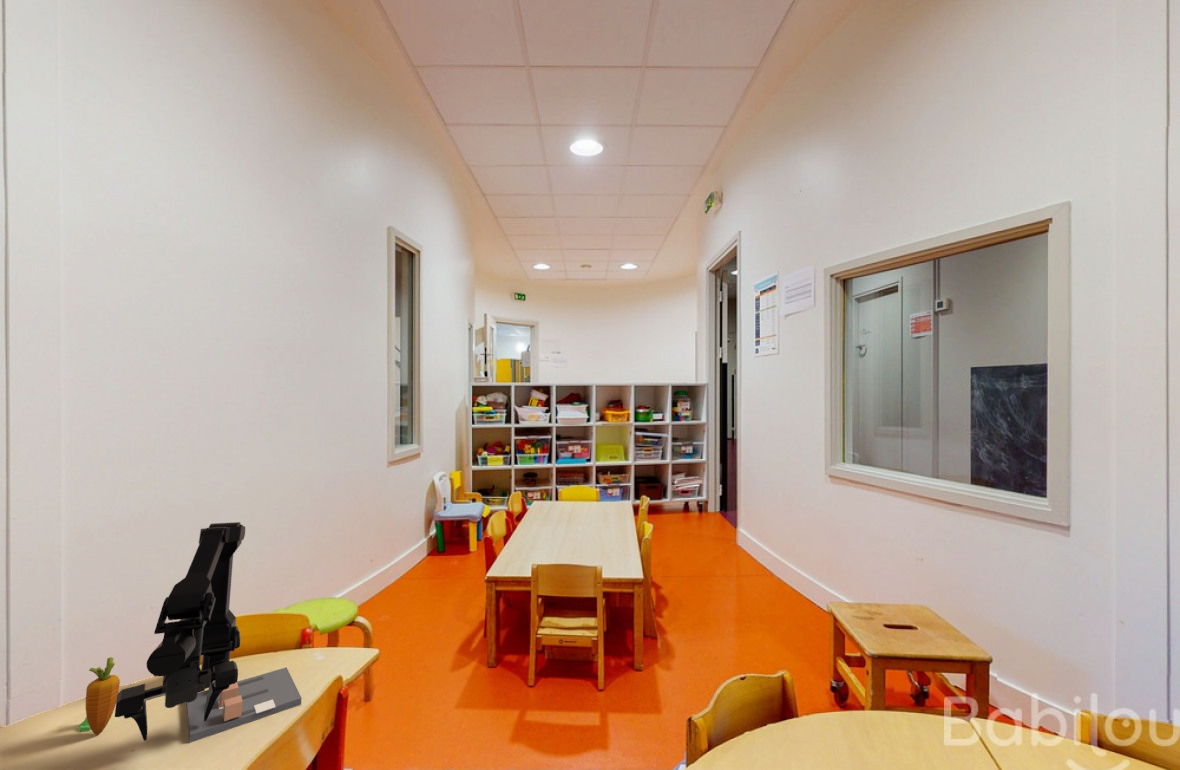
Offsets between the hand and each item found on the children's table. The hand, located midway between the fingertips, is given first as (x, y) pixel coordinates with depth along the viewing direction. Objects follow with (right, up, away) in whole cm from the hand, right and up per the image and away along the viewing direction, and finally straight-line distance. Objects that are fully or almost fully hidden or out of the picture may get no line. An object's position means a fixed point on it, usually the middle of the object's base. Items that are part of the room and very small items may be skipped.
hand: (176, 729), depth 95 cm
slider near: (+7, -2, +6) cm, 9 cm away
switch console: (+4, -4, +13) cm, 14 cm away
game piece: (-22, -3, +4) cm, 23 cm away
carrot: (-18, -3, +2) cm, 18 cm away
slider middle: (+2, -2, +11) cm, 12 cm away
